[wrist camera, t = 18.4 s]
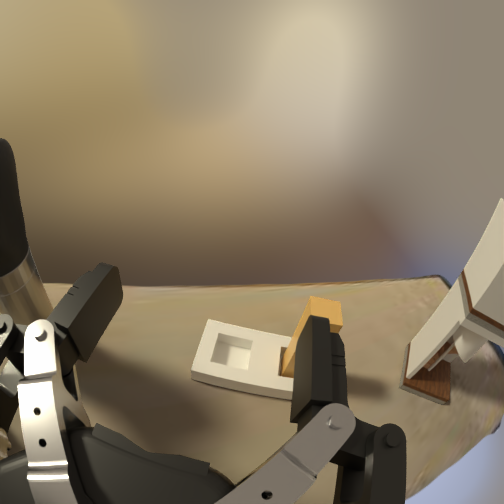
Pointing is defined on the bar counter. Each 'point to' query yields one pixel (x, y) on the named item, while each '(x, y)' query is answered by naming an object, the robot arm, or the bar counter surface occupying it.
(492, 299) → the white tower
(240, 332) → the white socket board
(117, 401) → the bar counter surface
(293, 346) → the plug
